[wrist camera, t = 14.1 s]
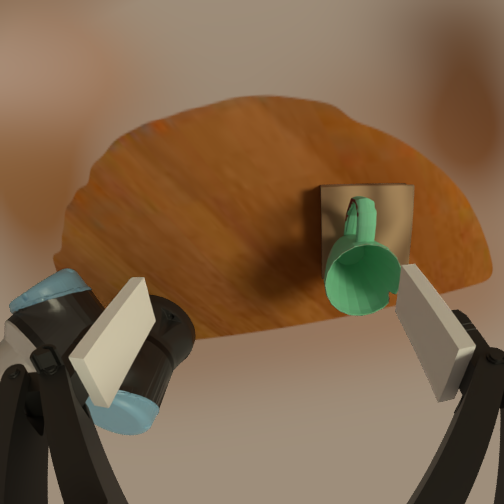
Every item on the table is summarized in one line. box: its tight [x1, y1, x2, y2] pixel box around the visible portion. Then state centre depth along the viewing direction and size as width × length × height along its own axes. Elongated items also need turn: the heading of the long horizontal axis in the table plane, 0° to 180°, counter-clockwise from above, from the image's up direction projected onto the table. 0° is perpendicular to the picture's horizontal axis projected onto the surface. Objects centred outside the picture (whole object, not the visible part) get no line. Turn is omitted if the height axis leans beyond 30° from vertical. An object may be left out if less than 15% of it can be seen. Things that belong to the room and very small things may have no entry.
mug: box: [324, 196, 401, 316], centre depth 40 cm, size 15×10×10 cm
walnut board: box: [320, 183, 414, 279], centre depth 46 cm, size 14×14×3 cm
